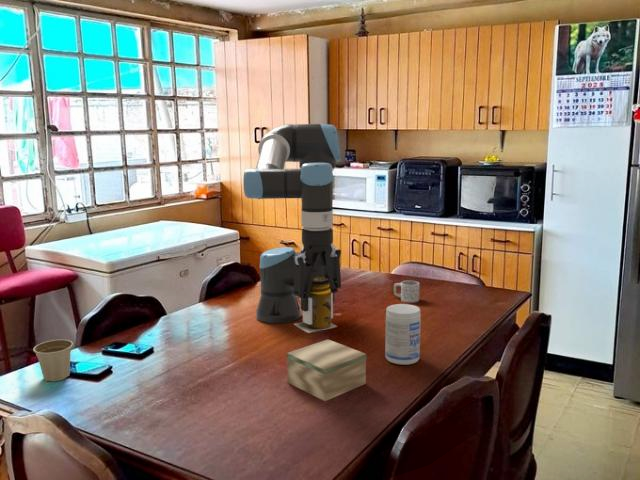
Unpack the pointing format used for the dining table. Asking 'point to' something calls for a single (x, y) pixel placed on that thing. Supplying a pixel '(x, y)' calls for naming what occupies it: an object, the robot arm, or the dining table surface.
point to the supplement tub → (402, 334)
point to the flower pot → (54, 359)
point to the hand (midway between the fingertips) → (318, 319)
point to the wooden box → (326, 369)
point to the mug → (408, 291)
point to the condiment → (319, 306)
